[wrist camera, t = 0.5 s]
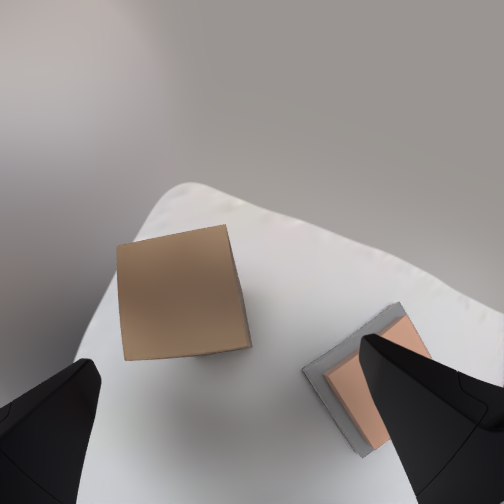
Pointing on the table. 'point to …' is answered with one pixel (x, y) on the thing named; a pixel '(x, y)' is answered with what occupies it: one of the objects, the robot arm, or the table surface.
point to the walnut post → (180, 296)
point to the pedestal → (360, 379)
